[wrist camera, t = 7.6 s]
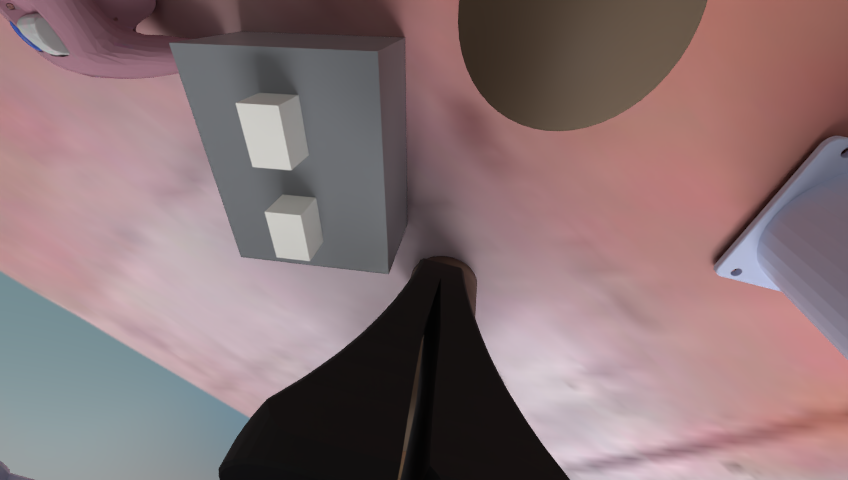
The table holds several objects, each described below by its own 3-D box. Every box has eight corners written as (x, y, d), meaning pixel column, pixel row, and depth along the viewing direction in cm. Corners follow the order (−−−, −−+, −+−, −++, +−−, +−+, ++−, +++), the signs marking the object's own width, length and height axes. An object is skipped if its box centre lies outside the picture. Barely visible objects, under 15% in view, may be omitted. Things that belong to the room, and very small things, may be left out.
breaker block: (406, 36, 17) (364, 58, 11) (407, 222, 22) (380, 295, 17) (244, 31, 18) (134, 47, 12) (285, 210, 23) (222, 276, 18)
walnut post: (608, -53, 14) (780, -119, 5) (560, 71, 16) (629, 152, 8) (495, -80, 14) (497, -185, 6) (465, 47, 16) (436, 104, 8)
